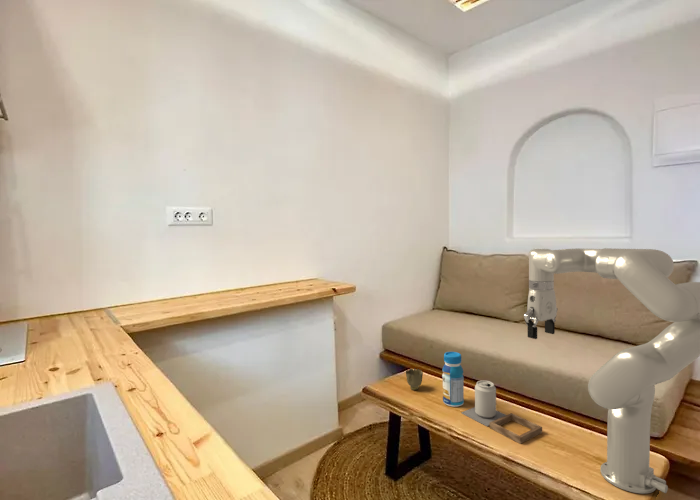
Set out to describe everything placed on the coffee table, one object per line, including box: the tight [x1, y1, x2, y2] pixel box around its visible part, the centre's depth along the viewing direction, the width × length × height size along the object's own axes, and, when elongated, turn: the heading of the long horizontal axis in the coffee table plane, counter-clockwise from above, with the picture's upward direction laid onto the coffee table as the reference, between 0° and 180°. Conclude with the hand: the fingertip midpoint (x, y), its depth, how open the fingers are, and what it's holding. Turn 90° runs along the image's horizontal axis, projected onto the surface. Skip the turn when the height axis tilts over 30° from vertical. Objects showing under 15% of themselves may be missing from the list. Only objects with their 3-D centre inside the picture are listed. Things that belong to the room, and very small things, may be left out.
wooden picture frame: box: [489, 413, 543, 444], centre depth 134 cm, size 12×12×2 cm
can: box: [474, 380, 497, 418], centre depth 144 cm, size 8×8×12 cm
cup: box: [405, 368, 424, 391], centre depth 170 cm, size 8×7×8 cm
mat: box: [461, 406, 507, 428], centre depth 145 cm, size 12×12×1 cm
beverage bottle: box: [441, 351, 465, 408], centre depth 155 cm, size 8×8×20 cm
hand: (541, 335), depth 131 cm, fingers open, 9 cm apart
